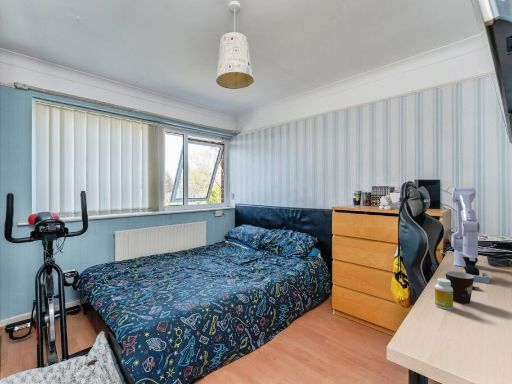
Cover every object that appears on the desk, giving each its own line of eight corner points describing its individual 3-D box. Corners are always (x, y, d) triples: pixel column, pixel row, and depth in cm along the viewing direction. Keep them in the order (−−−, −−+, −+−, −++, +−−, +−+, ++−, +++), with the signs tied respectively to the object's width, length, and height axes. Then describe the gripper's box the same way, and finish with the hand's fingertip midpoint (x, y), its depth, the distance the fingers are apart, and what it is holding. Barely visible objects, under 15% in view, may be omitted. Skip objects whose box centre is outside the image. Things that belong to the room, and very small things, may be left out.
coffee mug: (463, 296, 101) (463, 271, 101) (480, 305, 93) (480, 278, 93) (432, 294, 103) (432, 270, 103) (446, 304, 94) (446, 277, 94)
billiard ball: (482, 280, 119) (482, 267, 119) (467, 279, 120) (467, 266, 120) (474, 276, 125) (474, 264, 125) (460, 275, 126) (460, 263, 126)
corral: (455, 273, 128) (455, 268, 128) (485, 278, 122) (485, 273, 122) (457, 278, 122) (457, 273, 121) (489, 283, 115) (489, 278, 115)
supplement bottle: (448, 311, 89) (448, 283, 89) (431, 305, 94) (431, 278, 94) (456, 307, 91) (456, 281, 91) (439, 302, 96) (439, 276, 96)
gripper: (458, 241, 134) (458, 267, 134) (461, 246, 122) (461, 274, 122) (475, 243, 130) (475, 269, 130) (481, 248, 118) (480, 277, 118)
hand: (470, 272), depth 126 cm, fingers closed
